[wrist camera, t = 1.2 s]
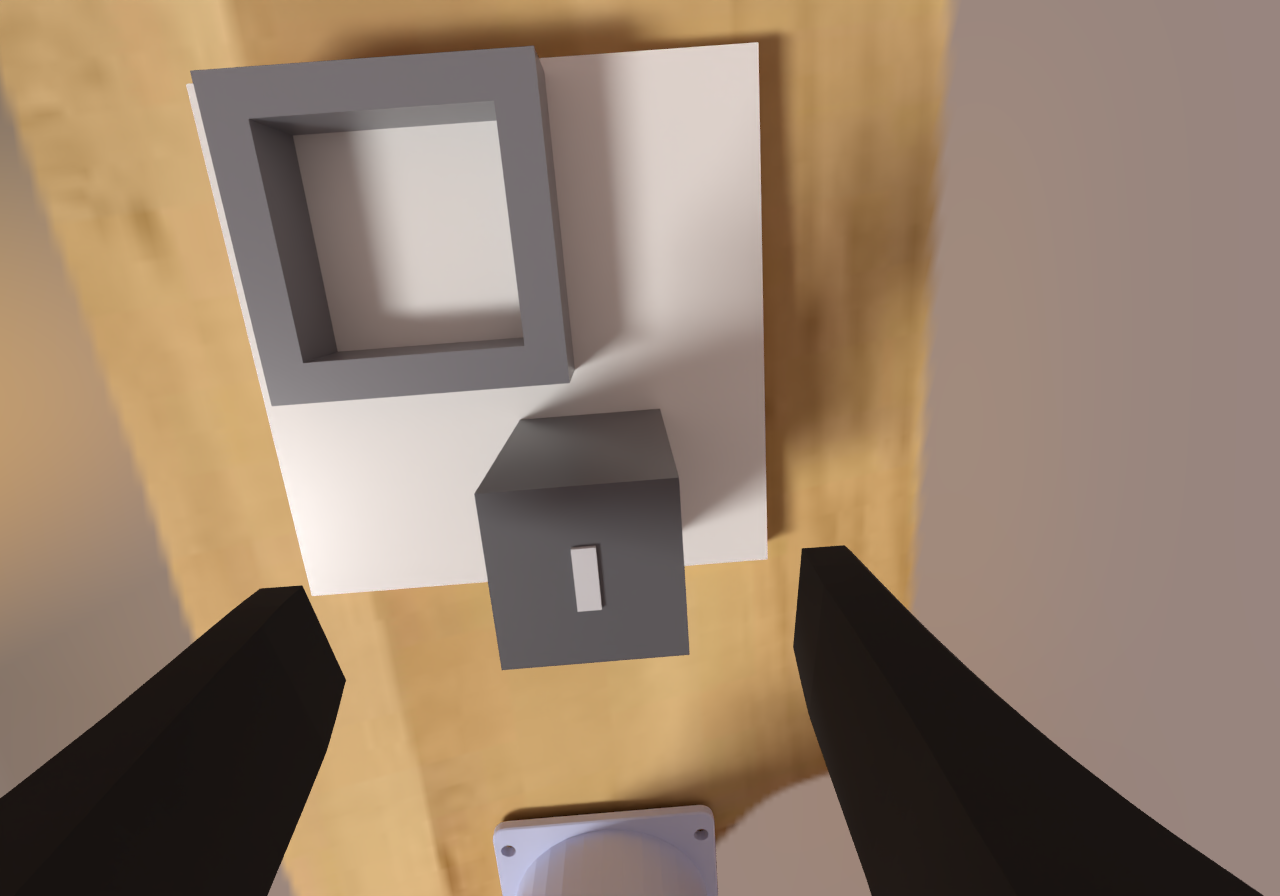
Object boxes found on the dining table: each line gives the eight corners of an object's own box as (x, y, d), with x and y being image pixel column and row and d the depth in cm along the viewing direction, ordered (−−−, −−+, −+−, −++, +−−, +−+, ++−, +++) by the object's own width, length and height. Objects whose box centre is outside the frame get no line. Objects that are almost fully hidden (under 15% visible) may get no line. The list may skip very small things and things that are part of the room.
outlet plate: (760, 545, 21) (783, 591, 18) (326, 580, 21) (278, 632, 18) (750, 55, 17) (777, 12, 14) (211, 94, 17) (125, 59, 14)
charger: (668, 537, 19) (690, 657, 14) (536, 547, 19) (501, 673, 13) (659, 408, 18) (679, 479, 12) (519, 419, 18) (473, 495, 12)
